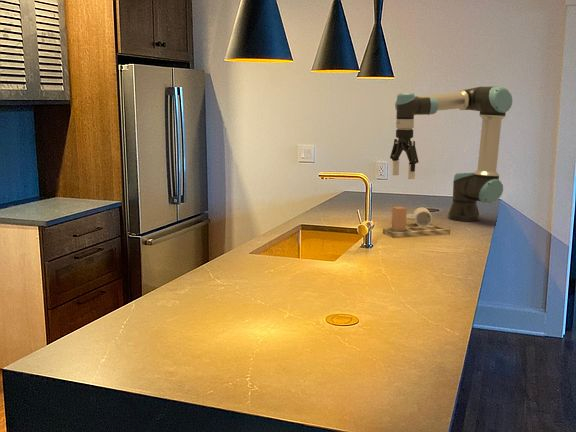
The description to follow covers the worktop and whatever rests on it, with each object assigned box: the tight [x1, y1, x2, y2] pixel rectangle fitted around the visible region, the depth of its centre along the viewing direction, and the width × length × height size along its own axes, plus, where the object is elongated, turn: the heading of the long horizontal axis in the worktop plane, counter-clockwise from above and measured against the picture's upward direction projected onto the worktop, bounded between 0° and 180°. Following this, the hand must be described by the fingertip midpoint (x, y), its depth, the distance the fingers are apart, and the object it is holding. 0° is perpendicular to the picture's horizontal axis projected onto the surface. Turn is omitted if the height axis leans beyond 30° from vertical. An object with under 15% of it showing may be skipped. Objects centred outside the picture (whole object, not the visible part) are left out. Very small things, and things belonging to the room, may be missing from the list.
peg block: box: [391, 206, 408, 231], centre depth 286 cm, size 4×4×12 cm
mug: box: [406, 206, 433, 226], centre depth 307 cm, size 12×10×8 cm
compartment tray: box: [382, 224, 451, 239], centre depth 290 cm, size 28×10×2 cm, turn 109°
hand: (403, 177), depth 290 cm, fingers open, 13 cm apart
